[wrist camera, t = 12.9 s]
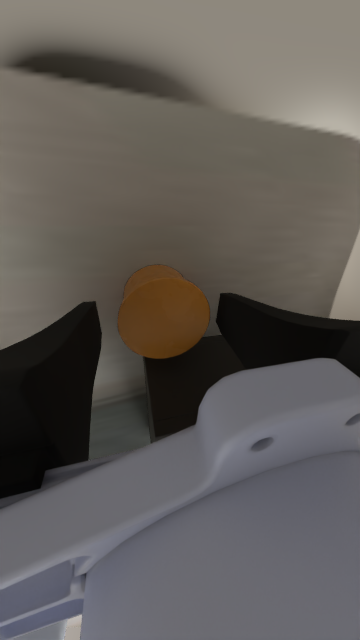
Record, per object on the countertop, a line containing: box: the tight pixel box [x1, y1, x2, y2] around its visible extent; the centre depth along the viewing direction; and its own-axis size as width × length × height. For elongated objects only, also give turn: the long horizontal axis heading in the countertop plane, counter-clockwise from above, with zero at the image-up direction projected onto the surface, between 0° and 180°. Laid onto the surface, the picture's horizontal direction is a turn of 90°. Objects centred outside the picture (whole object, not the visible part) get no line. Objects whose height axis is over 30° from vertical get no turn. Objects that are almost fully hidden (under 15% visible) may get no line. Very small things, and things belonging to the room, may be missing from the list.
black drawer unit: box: [143, 335, 245, 443], centre depth 17 cm, size 14×12×7 cm
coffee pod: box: [118, 265, 210, 359], centre depth 12 cm, size 5×5×3 cm
